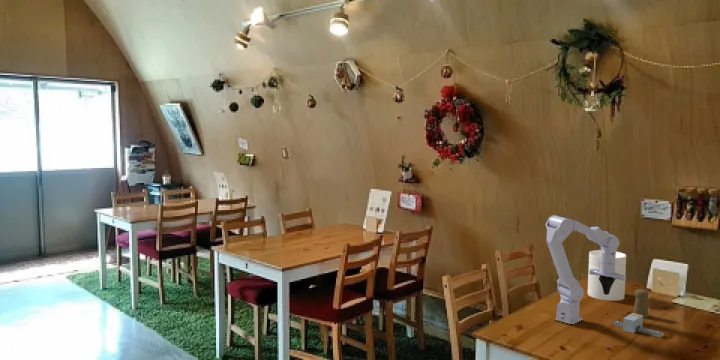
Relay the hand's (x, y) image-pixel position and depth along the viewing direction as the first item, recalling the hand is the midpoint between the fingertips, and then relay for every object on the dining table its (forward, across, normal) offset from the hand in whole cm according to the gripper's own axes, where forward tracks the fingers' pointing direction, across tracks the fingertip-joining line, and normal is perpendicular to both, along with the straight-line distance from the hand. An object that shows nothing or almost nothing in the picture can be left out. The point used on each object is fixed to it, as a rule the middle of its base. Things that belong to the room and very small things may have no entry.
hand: (606, 294), depth 234 cm
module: (+9, -14, +8) cm, 19 cm away
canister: (+10, +12, -28) cm, 32 cm away
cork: (+10, -10, -11) cm, 18 cm away
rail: (+9, -16, +8) cm, 20 cm away
